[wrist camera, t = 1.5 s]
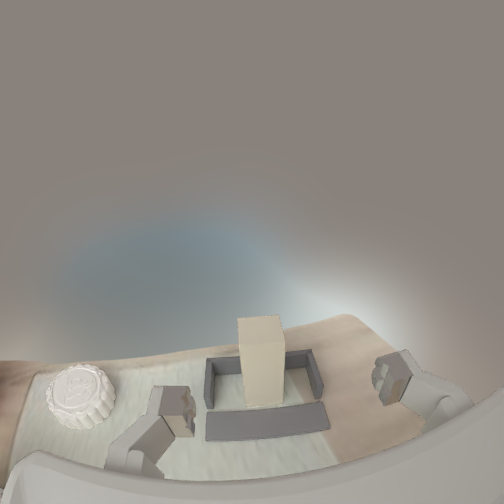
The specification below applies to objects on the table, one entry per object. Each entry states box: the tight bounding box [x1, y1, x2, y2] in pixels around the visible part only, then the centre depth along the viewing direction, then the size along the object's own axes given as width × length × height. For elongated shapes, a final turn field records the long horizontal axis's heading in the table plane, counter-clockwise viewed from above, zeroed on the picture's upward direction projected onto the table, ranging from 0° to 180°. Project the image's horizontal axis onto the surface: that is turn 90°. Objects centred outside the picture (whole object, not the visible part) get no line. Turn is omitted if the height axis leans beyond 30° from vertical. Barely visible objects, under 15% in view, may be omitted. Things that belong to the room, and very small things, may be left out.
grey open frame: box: [204, 349, 330, 441], centre depth 33 cm, size 16×13×3 cm
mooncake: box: [46, 364, 116, 430], centre depth 31 cm, size 12×12×4 cm
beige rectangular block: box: [238, 315, 285, 407], centre depth 33 cm, size 5×5×12 cm
